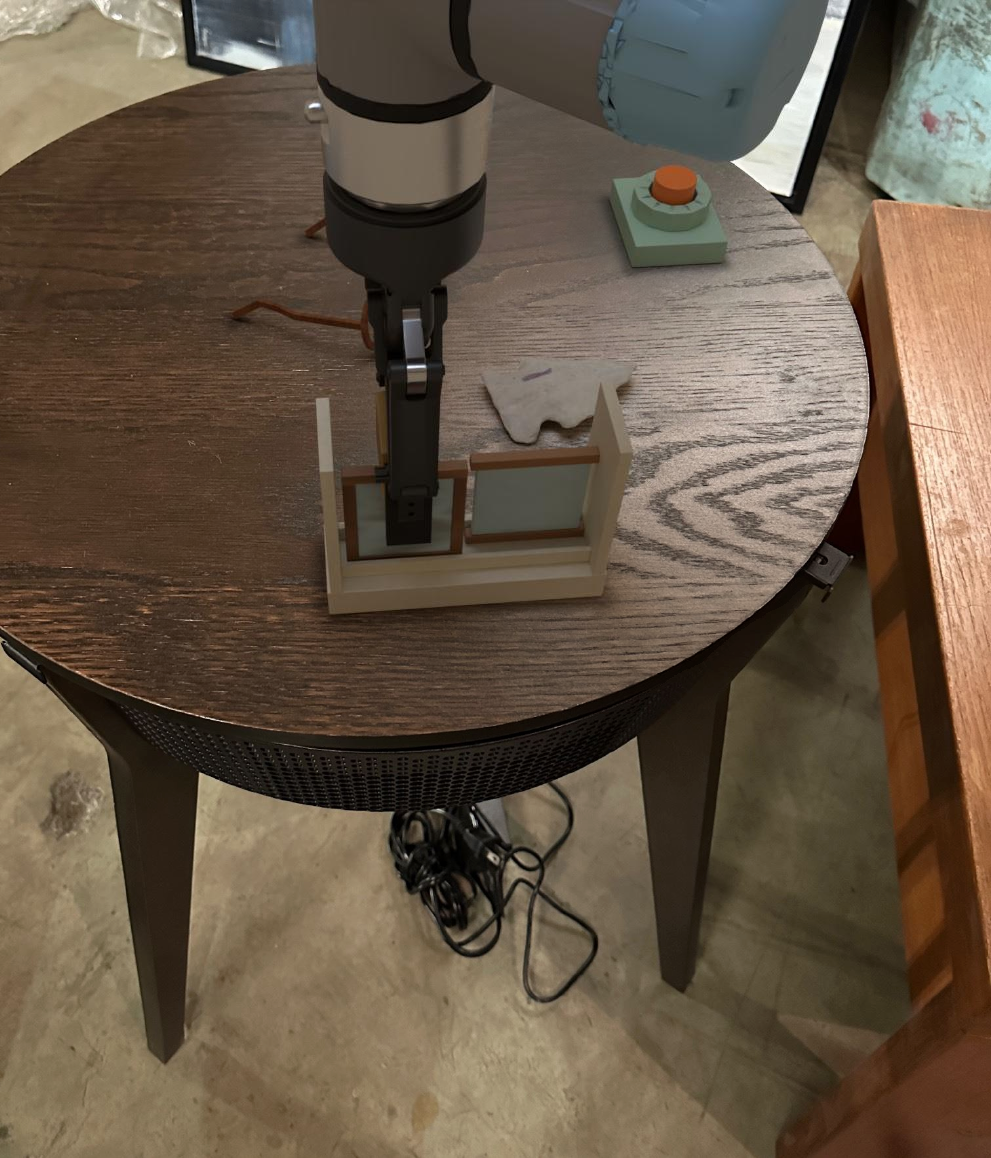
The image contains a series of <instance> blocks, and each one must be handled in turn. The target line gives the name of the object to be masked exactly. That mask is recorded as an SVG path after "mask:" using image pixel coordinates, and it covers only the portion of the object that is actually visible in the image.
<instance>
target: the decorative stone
mask: <svg viewBox="0 0 991 1158" xmlns="http://www.w3.org/2000/svg"><path fill="white" fill-rule="evenodd" d="M518 362H519V365H518V366H519V367H518V370H516V371H514V372H510V373H502V372H498V371H495V370H493V369H486V370H484V371H482V373H481V375H480V378H481V381H482V383H483V384H484V385H485V388H486V390H487V391H488V393H489V396H490V398H491V401H492V403H493V405H494V407H495V408H496V409H497V411H498V413H499V416H500V418H501V421H502V423H503V426H504V429H505V430H506V431H507V432H508V434H509V436H510V437H511V439H512V440H513V441H514V442H516V443H524V444H532V443H535V442H536V441H537V440H538V439H537V438H538V435H539V434H540V430H541V426H542V424H543V423H544V422H546V421H552V422H556V423H558V424H560V425H561V427H562V428H564V429H569V428H576V427H577V426H578V425H580V424H581V423H582V422H583V421H585V420H586V419H590V418H592V417H593V418H594V413H595V408H596V403H597V397H598V392H599V387H600V382H601V381H613V382H614V386H615V389H616V390H617V389H618V388H619V387H621V386H623V385H626V384H627V383H628V382H630V380H631V379H632V376H633V373H634V372H635V371H636V370H637V369H638V363H636V362H621V361H617V360H608V359H584V360H583V359H582V360H576V359H575V360H573V359H568V358H567V359H566V358H559V359H540V358H538V357H534V356H525V357H523V358H522V359H520V360H519V361H518Z"/></svg>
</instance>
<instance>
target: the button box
mask: <svg viewBox="0 0 991 1158" xmlns="http://www.w3.org/2000/svg"><path fill="white" fill-rule="evenodd" d="M657 170H658V169H655V170H652V171H649V172H648V173H646V174H644V175H641V176H640V177H623V178H622V177H621V178H612V182H611V189H610V194H609V202H610V205H611V208H612V211H613V215H614V217H615V220H616V224H617V227H618V230H619V233H620V236H621V239H622V241H623V245H624V248H625V251H626V254H627V257H628V259H629V263H630V266H631V268H645V267H646V268H647V267H664V266H665V267H666V266H685V265H702V264H703V265H704V264H720V263H721V264H722V263H723V261H724V259H725V254H726V250H727V247H728V244H729V241H728V238H727V236H726V234H725V231H724V228H723V227H722V226H723V225H722V224H721V222H720V219H719V217H718V214H717V211H716V210H715V207H714V205H713V203H712V198H713V194H712V192H711V189H710V187H709V185H708V183H707V182H706V181H704V180H703V179H702V177H701V175H700V174H696V176H697V183H696V188H695V192H694V196H693V199H692V201H691V202H690V203H688V204H686V205H677V206H671V205H667V204H664V203H660V202H658V201H657V200H656V199H654V198H653V197H652V194H651V191H652V186H653V181H654V177H655V173H656V171H657Z"/></svg>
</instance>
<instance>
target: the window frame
mask: <svg viewBox="0 0 991 1158" xmlns="http://www.w3.org/2000/svg"><path fill="white" fill-rule="evenodd" d="M315 410H316V411H315V412H316V431H317V444H318V445H317V448H318V466H319V467H318V469H319V470H318V471H319V481H320V482H319V483H320V490H321V491H320V493H321V504H322V513H323V514H322V515H323V535H324V536H323V537H324V538H323V539H324V554H325V556H324V557H325V575H326V577H325V578H326V593H327V595H326V596H327V603H328V614H329V615H342V614H355V613H357V614H358V613H373V612H386V611H399V610H411V609H412V610H415V609H429V608H444V607H458V606H473V605H486V604H487V605H489V604H503V603H515V602H516V603H517V602H531V601H532V602H533V601H545V600H561V599H574V598H575V599H576V598H589V597H601V596H602V597H603V593H604V590H605V584H606V581H607V577H608V572H607V565H608V561H609V556H610V554H611V553H610V552H611V549H612V544H613V540H614V536H615V531H616V528H617V523H618V518H619V515H620V511H621V507H622V502H623V498H624V495H625V490H626V486H627V483H628V478H629V474H630V470H631V466H632V461H633V457H634V453H635V452H634V448H633V445H632V441H631V438H630V435H629V432H628V427H627V425H626V420H625V417H624V413H623V411H622V407H621V403H620V400H619V396H618V393H617V389H615V386H614V382H613V381H601V382H600V387H599V392H598V397H597V403H596V408H595V413H594V416H593V419H592V423H591V429H590V434H589V438H588V445H587V446H574V447H573V446H572V447H559V448H557V447H555V448H542V449H541V448H540V449H527V450H526V449H524V450H510V451H509V450H508V451H493V452H491V451H490V452H477V453H476V452H475V453H470V454H469V461H468V462H469V470H470V472H474V482H473V496H472V509H471V513H465V521H464V536H463V549H462V554H457V555H442V556H427V557H412V558H397V559H382V560H367V561H352V562H347V556H346V541H345V526H344V521H339V513H338V501H337V500H338V499H337V485H336V484H337V483H336V472H335V459H334V445H333V444H334V443H333V433H332V432H333V431H332V418H331V404H330V397H316V398H315Z"/></svg>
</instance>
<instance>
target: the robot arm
mask: <svg viewBox="0 0 991 1158" xmlns="http://www.w3.org/2000/svg"><path fill="white" fill-rule="evenodd" d="M311 2H312V13H313V28H314V38H315V39H314V40H315V41H314V42H315V52H316V53H315V58H314V59H315V63H316V64H315V65H316V67H315V68H316V82H317V92H318V98H316V99H308V100H306V102H305V104H304V106H303V108H304V109H303V116H304V119H305V121H307V122H308V123H309V124H310V125H320V138H321V139H320V140H321V155H322V163H323V166H324V171H323V175H322V191H323V206H324V218H325V224H326V226H325V236H326V240H327V244H328V247H329V248H330V250H331V252H332V254H333V255H334V257H335V258H336V259H337V260H338V261H339V262H340V263H341V264H342V265H343V266H344V267H346V268H347V269H348V270H350V271H351V272H353V273H355V274H356V275H358V276H360V277H363V280H364V281H363V282H364V290H365V291H366V300H367V311H368V324H369V326H371V328H372V334H373V335H372V336H373V343H374V344H373V349H374V351H373V357H374V365H375V370H376V372H375V381H376V382H377V383H378V388H384V391H385V399H386V427H387V455H388V463H384V466H381V467H374V470H375V483H376V484H377V483H385V525H386V544H387V546H396V545H411V544H427V543H431V533H432V502H433V497H437V495H438V490H439V481H438V461H439V453H440V452H439V451H440V424H441V423H440V422H441V397H442V389H443V383H444V382H443V380H444V376H446V365H445V364H444V359H443V357H444V355H443V354H444V353H443V348H444V346H443V338H444V337H443V332H444V331H443V327H444V325H445V323H446V322H447V320H448V317H449V315H448V314H449V312H448V311H449V308H448V307H449V305H448V304H449V301H448V300H449V298H448V287H447V284H442V281H443V280H445V279H446V278H448V277H449V276H450V275H453V274H455V273H457V272H458V271H460V270H461V269H463V268H464V267H466V266H467V265H468V264H469V263H470V262H471V261H472V260H473V259H474V257H475V256H476V255H477V253H478V251H479V250H480V249H481V246H482V242H483V239H484V231H485V230H484V229H485V214H486V199H487V184H488V177H487V173H486V171H487V169H488V168H489V165H490V155H491V153H490V152H491V141H492V127H493V115H494V103H495V91H496V90H495V89H496V86H498V87H501V88H503V89H505V90H507V91H510V92H513V93H515V94H517V95H520V96H522V97H525V98H528V99H530V100H533V101H535V102H538V103H540V104H542V105H545V106H547V107H550V108H552V109H555V110H557V111H560V112H562V113H565V114H567V115H570V116H572V117H574V118H577V119H579V120H582V121H583V122H587V123H589V124H591V125H594V126H597V127H599V128H601V129H603V130H606V131H609V132H611V133H614V134H615V135H617V136H618V137H622V138H623V140H624V141H626V142H628V143H631V144H637V145H640V146H642V147H647V146H648V145H651V146H654V147H656V148H661V149H665V150H668V151H672V152H676V153H679V154H682V155H686V156H689V157H692V158H697V159H699V160H703V161H707V162H710V163H715V164H723V163H730V162H735V161H737V160H739V159H742V158H743V157H745V156H748V155H749V154H750V153H751V152H753V151H754V150H755V149H756V148H758V147H759V145H761V144H762V143H763V142H764V141H765V140H766V138H767V137H768V136H769V135H770V133H771V132H772V131H773V130H774V128H775V126H776V124H777V123H778V120H779V119H780V116H781V113H782V111H783V109H784V108H785V106H786V105H788V104H790V102H791V101H792V99H793V97H794V95H795V93H796V91H797V89H798V87H799V85H800V84H801V81H802V79H803V76H804V75H805V72H806V70H807V68H808V65H809V63H810V60H811V58H812V56H813V53H814V51H815V48H816V45H817V43H818V40H819V36H820V33H821V30H822V28H823V24H824V22H825V18H826V14H827V11H828V6H829V2H830V0H311Z"/></svg>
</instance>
